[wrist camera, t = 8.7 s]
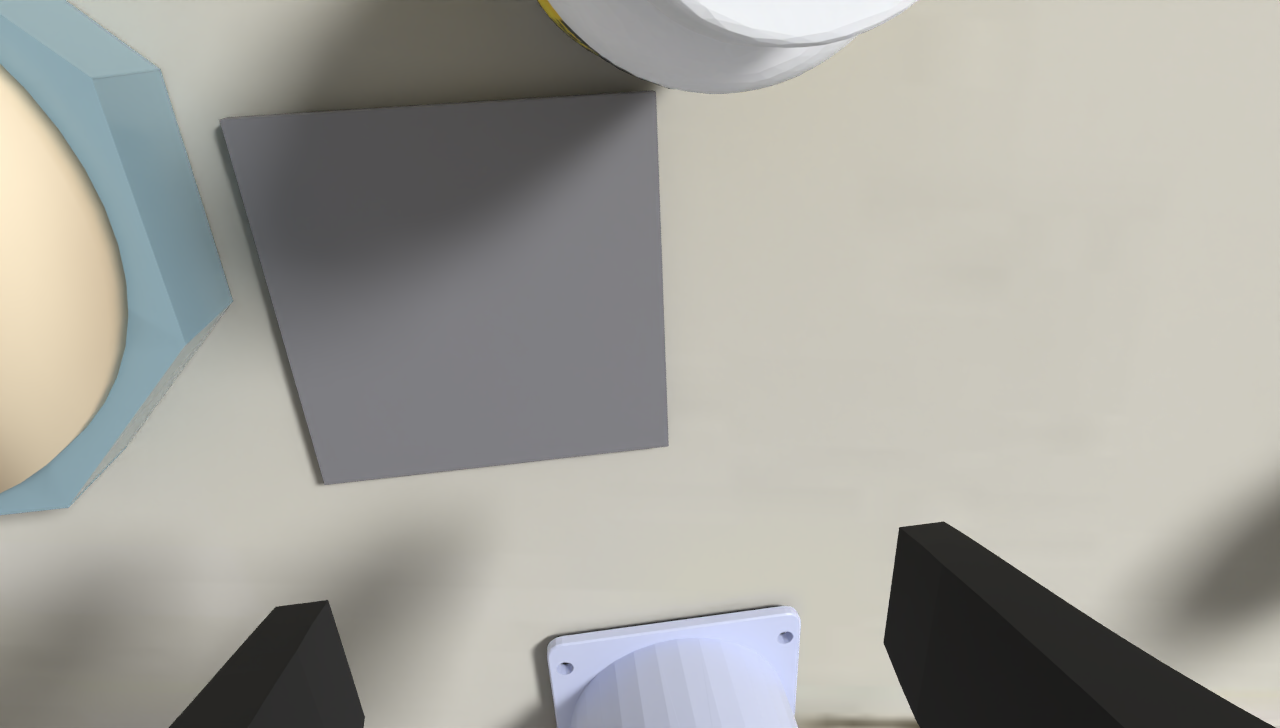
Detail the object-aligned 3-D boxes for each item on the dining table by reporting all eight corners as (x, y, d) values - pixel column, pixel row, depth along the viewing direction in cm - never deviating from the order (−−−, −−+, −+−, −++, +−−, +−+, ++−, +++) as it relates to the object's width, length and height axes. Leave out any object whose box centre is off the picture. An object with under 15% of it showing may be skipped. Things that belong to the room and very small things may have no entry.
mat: (666, 438, 20) (668, 446, 19) (328, 476, 19) (324, 484, 19) (653, 90, 16) (655, 91, 16) (226, 117, 15) (219, 120, 15)
